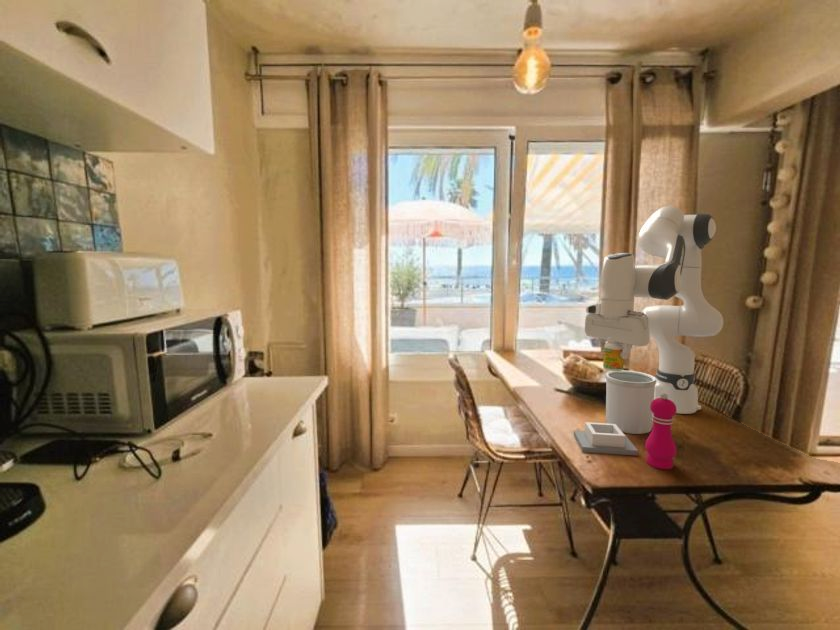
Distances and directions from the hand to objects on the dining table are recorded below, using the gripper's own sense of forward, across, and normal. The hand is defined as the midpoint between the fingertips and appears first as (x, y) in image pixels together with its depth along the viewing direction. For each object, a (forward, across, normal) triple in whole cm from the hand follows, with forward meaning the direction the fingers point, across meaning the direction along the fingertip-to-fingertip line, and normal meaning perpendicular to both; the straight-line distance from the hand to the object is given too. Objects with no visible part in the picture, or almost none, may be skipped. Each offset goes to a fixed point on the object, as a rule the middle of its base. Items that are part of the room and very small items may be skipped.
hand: (613, 356), depth 114 cm
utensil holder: (+28, +9, -18) cm, 34 cm away
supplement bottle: (+4, 0, 0) cm, 4 cm away
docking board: (+28, +1, +1) cm, 28 cm away
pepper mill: (+28, -13, -4) cm, 31 cm away
